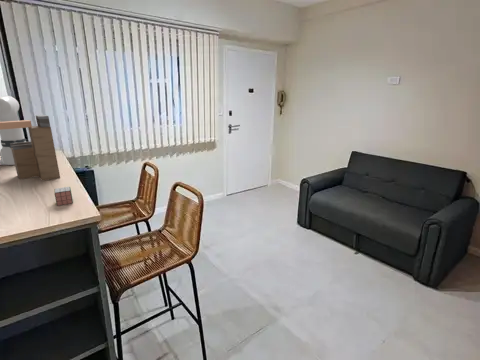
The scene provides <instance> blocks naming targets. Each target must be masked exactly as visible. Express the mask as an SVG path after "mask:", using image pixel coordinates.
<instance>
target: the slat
mask: <svg viewBox="0 0 480 360" xmlns="http://www.w3.org/2000/svg"><path fill="white" fill-rule="evenodd" d="M32 126H33V125H32V121H31V120H30V119H27V120H25V119H24V120H23V119H22V120H19V121H6V122H0V130H2V129H15V128H22V129H28V127H32Z"/></svg>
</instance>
